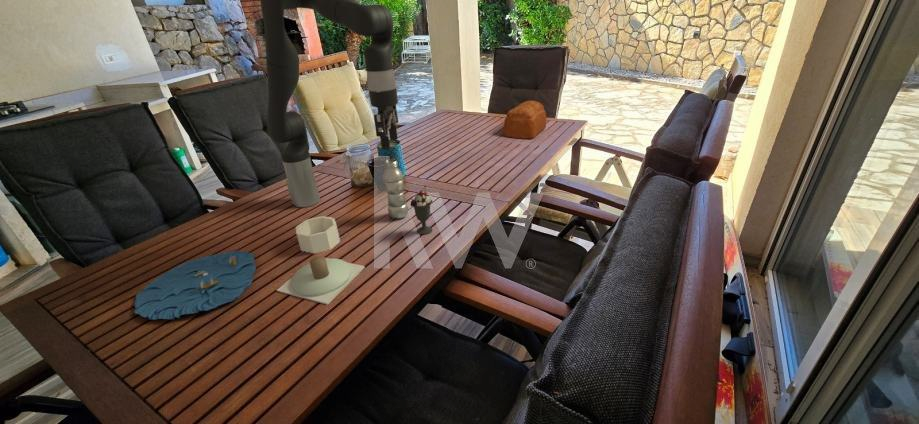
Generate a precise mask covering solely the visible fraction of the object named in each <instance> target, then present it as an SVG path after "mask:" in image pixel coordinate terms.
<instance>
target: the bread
mask: <svg viewBox="0 0 919 424" xmlns="http://www.w3.org/2000/svg"><path fill="white" fill-rule="evenodd" d="M546 127H547V112H546V110H545V107H544V105H543V104H542V103H541V102H539V101H536V100H526V101H523V102H522V103H520V104H518V105H517V106H515V107H514V108H512V109H510V110H509V111H508V112H506V117H505V118H504V122H503V135H504V136H505V137H507V138H513V139H523V140H524V139H526V140H528V139H529V140H530V139H531V140H532V139H534V138H536V137H537V136H538V135H539V134H540V133H541V132H542V131H544V130H545V129H546Z"/></svg>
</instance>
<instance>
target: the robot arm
mask: <svg viewBox="0 0 919 424" xmlns="http://www.w3.org/2000/svg"><path fill="white" fill-rule="evenodd" d="M259 2H260V7H261V14H262V21H263V29H264V39H265V41H264V42H265V55H266V56H265V62H266V63H265V64H266V74H267V75H266V76H267V95H268V97H267V99H268V100H267V112H266V113H267V115H266V124H267V125H266V126H267V132H268V134H269V136H270V139H272V141H273V142H274V143H277V144H284V143H285V144H286V143H288V144H287V145H286V147H285V148H284V149H282V151H281V152H280V156H281V157H280V158H281V161H282V165H283V168H284V169H283V170H284V171H285V175H286V180H285V184H286V187H287V191H288V194H289V198H290V201H291V204H292V205H294V206H295V207H297V208H308V207H312V206H314V205H316V204H318V203H319V202H320V200H321V198H320V194H319V189H318V184H317V181H316V177H315V173H314V169H313V168H314V167H313V163H312V160H311V156H310V143H309V138H308V132H307V127H306V123H305V121H304V119H303V117H302V115H300V113H298V112H297V111H295V110H290V111H287V109H288V104H289V102H290V100H291V97H292V95H293V94H294V92H295V90H296V88H297V86H298V83H299V80H300V79H299V78H300V59H299V57H300V56H299V53H298V52H297V49H296V47H295V46H294V44H293V43H292V41H291V39H290V37H289V36H288V33H287V30H286V28H285V21H284V20H285V19H284V16H285V15H284V13H285V11H284V10H295V9H309V10H312V11H316V12H317V13H318V14H319V15H320V16H321V17H323V18H324V19H326V20H327V21H330V22H332V23H335V24H338V25H341V26H345V27H346V28H347V29H349V30H350V31H352V32H353V33H355V34H357V35H359V36H363V37H371V43H370V45H368V46H367V47H365V48H364V50H363V54H364V55H363V56H364V63H365V69H366V81H367V83H366V84H367V89H368V95H369V103H370V106H371V107H373V108H377V113H375V114H374V115H373V121H374V126H375V127H374V128H375V135H376V137H377V138H379V137H380V144H381V149H382V150H383V151H387V150H390V148H391V146H390V145H391V144H390V141H397V140H398V138H399V137H398V129H397V127H398V124H399V117H398V116H399V115H398V111H397V110H398V109H397V104H398V103H399V98H398V91H397V84H396V77H395V76H396V75H395V73H394V65H393V58H392V47H393V38H394V19H393V16H392V14H391V12H390V10H389V8H388V7H386V5H383V4H380V3H379V4H360V3H359V2H358V1H357V0H259Z"/></svg>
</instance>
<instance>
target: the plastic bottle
mask: <svg viewBox="0 0 919 424" xmlns="http://www.w3.org/2000/svg"><path fill="white" fill-rule="evenodd" d="M384 163H385V165H384V166H385V168H386V169H385V170H384V171H383V172H384V173H383V174H382V180H383V183H384V186H385V190H386V194H387V212H388V214H389V217H391V218H393V219H395V220H396V219H403V218H405V217H406V216H407V215H408V213H409V207H408V204H407V202H406V197H405V192H404V189H405V188H404V175H403V172H402V171H401V169H400V168H399V167H398V166H399V164H398V160H397V159H395V158H390V159H386V160H385V161H384Z"/></svg>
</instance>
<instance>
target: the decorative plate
mask: <svg viewBox="0 0 919 424" xmlns="http://www.w3.org/2000/svg"><path fill="white" fill-rule="evenodd" d="M255 263H256V261H255V255H254V253H253V252H247V251H245V250H244V251H243V250H236V249H235V250H233V251H230V250H229V251H226V252H220V253H216V254H212V255H204V256H203V257H197V258H194V259H191V260H190V261H189V260H188V261H184V262H183V263H181V264H178V265H177V266H176V267H173V268H172V269H170V270H169V271H166V272H165V273H162V274H160V275H159V276H157V277H156V278H155V279H152V281H151V282H149V283H148V284H147V285H146V286H145V287H143V288H142V290H141V291H139V292H138V293H136V295H135V301H134V307H135V310H133V313H135V315H140V316H141V317H143V318H145V319H147V320H153V321H154V320H158V319H162V320H174V319H175V318H178V319H180V318H181V317H180V316H182V315H190V314H196V313H199V312H203V311H204V312H205V311H206V312H207V311H210V310H212V309H216V308H217V307H218V306H221V305H224V304H227V303H230V302H233V301H235V300H236V298H240V297H241V294H243V292H244V291H245V289H246V288H247V287H249V286H251V284H252V283H253V281H254V280H255V278H253V276H255V273H256V269H257V265H256V264H255Z"/></svg>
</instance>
